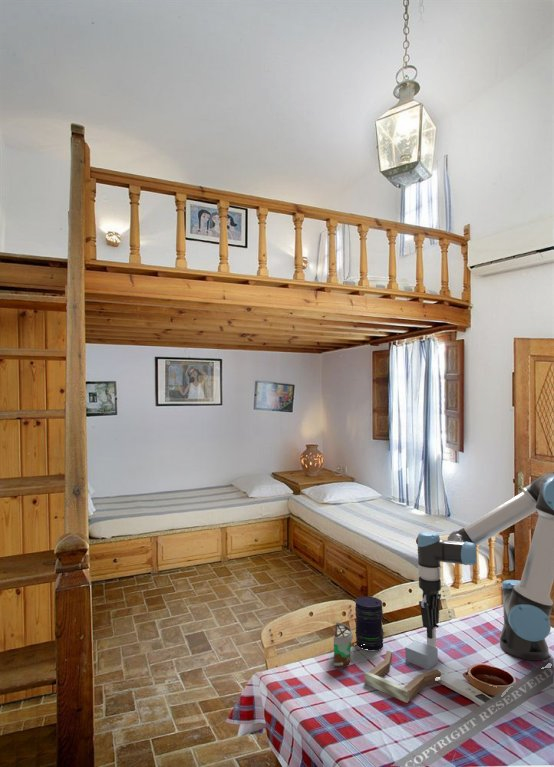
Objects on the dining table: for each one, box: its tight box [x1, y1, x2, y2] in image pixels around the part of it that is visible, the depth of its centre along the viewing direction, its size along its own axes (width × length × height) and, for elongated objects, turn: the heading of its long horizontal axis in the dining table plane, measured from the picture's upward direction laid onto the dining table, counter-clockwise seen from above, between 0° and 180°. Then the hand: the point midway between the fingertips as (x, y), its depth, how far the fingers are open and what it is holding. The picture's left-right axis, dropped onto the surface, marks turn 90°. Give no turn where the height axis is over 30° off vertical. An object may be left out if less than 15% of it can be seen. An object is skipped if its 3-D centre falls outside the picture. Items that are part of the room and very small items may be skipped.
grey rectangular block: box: [404, 640, 439, 671], centre depth 147 cm, size 8×7×4 cm
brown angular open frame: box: [363, 650, 442, 704], centre depth 136 cm, size 19×18×3 cm
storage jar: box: [354, 596, 384, 651], centre depth 159 cm, size 10×10×15 cm
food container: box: [333, 622, 354, 669], centre depth 147 cm, size 12×6×10 cm, turn 168°
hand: (431, 646), depth 153 cm, fingers closed
